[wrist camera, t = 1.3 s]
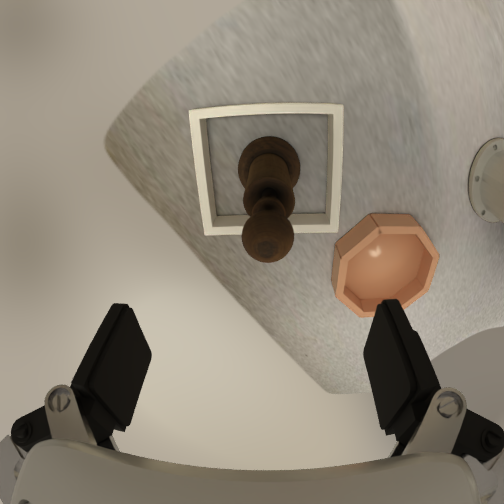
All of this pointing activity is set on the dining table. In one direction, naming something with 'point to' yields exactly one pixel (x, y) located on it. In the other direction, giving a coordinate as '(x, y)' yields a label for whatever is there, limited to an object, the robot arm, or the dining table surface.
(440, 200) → the dining table surface
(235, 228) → the open rectangular frame
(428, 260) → the terracotta bowl
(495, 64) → the dining table surface
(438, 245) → the dining table surface
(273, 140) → the dark brown knobbed post
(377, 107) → the dining table surface
